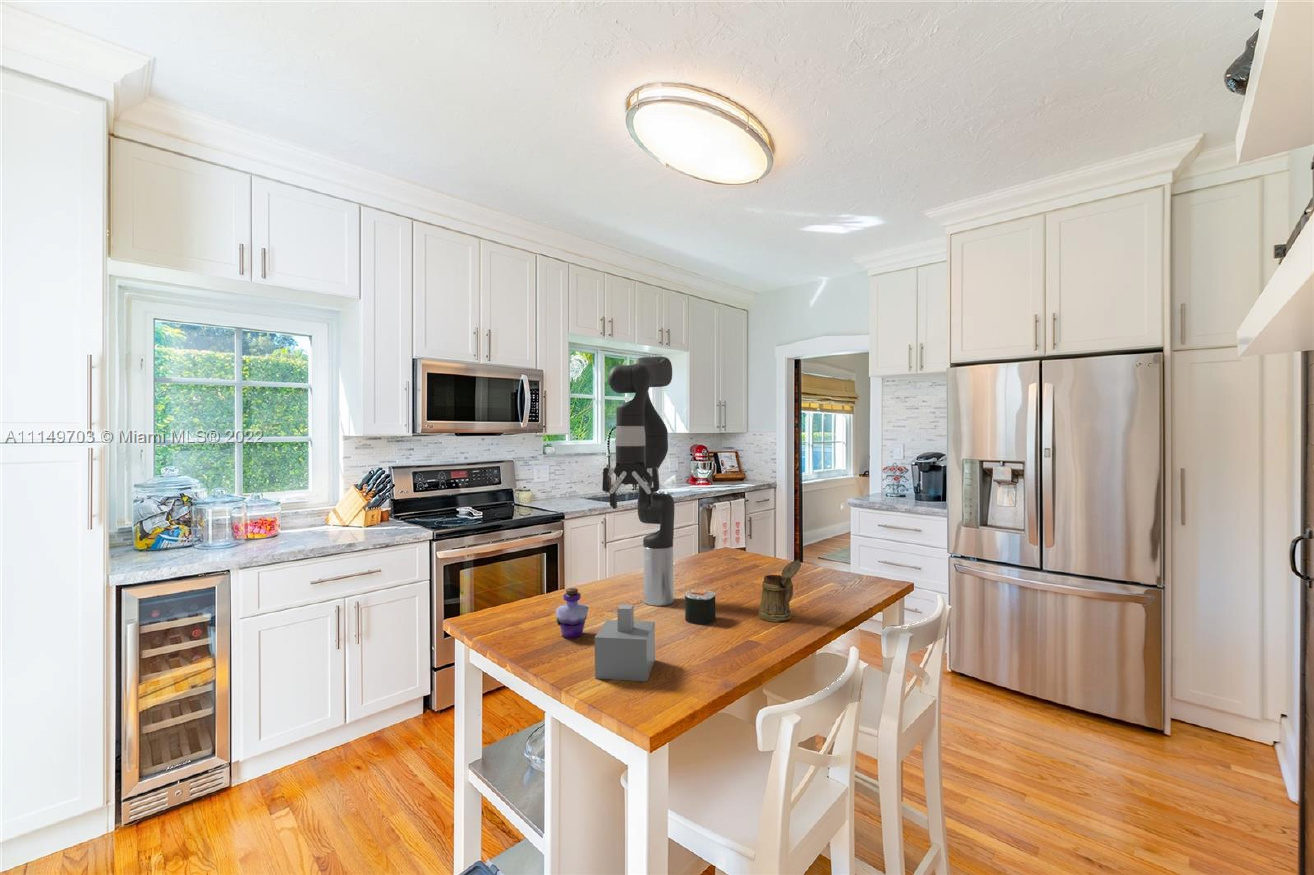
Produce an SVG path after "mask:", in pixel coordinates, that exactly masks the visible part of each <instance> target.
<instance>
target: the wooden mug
mask: <svg viewBox="0 0 1314 875" xmlns="http://www.w3.org/2000/svg"><path fill="white" fill-rule="evenodd" d="M801 567H802V562H801V561H800V559H798V558H796V559H795V560H793V561H791V562H790V563H789V564H787V565H785V567H784V568H783V569H782V571H781V575H780V574H767V575H764V578H763V581H762V585H761V586H762V590H761V591H762V592H761V598H760V599H761V600H760V607H759V609H758V610H759V611H758V618H759V619H761V620H763V621H768V622H771V621H772V623H774V622H775V623H782V621H784V622H787V621H790V620H791V619H792V616H793V615H792V610H791V607H790V603H791V600H792V597H793V594H794V584H793V582H792V578H793V577H794V576H795V575H797V573H799V571H800V569H801Z"/></svg>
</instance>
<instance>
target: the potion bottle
mask: <svg viewBox="0 0 1314 875" xmlns="http://www.w3.org/2000/svg"><path fill="white" fill-rule="evenodd" d="M581 596H582V595H581V592H579V589H578V588H576V587H569V588H567V589H566V590H565V593H564V594H563V601H565V602H566V604H564V605H559V606H558V607H557V608H556V609H555V615H556V623H557V625H558V626H559V627H560V632H561V637H563V639H566V640H575V639H579V638H583V635H584V630H585V629H584V628H585V624H586V620H587V619H588V613H589V608H590V607H589V606H587V605H586V604H583V603H579V601H580V600H581Z"/></svg>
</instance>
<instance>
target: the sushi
mask: <svg viewBox="0 0 1314 875" xmlns="http://www.w3.org/2000/svg"><path fill="white" fill-rule="evenodd" d="M684 601H685V603H684V607H685V609H684V610H685V611H684V612H685V614H684V620H685V621H686V622H687V623H690V624H694V625H699V626H702V625H703V626H706V625H707V626H708V625H710V623H711V624H712V623H714V622H715V621H716V619H717V618H716V616H717V615H716V592H714V591H712V590H707V589H706V590H704V589H703V590H702V589H689V590H688V591H686V592H685V595H684ZM713 621H714V622H713Z"/></svg>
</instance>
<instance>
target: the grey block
mask: <svg viewBox="0 0 1314 875" xmlns="http://www.w3.org/2000/svg"><path fill="white" fill-rule="evenodd" d="M634 606H635V605H634V604H625V603H624V604H619V606H618V607H617V619H606V621H605V622H604V623H603V625H602V627H601V628H600V629H599V630H598V632H597V633H596V634H595V636H594V676H595V677H594V678H595V679H598V680H599V679H601V680H602V679H603V680H615V681H616V680H619V681H635V682H648V679H649V677H650V675H651V672H652V669H653V667H654V665H655V664H654V663H655V661H656V630H655V629H656V627H655V626H656V624H655V623H656V621H645V620H644V621H643V620H634V618H635V616H634V614H635V612H634Z"/></svg>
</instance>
